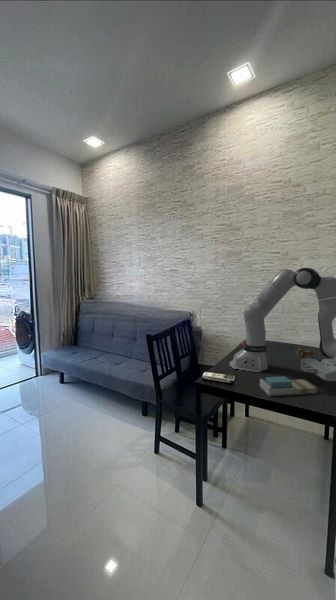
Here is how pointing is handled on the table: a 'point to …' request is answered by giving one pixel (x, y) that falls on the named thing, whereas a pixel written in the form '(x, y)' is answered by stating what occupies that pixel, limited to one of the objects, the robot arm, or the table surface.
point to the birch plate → (303, 387)
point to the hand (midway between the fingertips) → (302, 369)
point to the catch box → (276, 391)
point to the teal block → (278, 382)
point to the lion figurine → (304, 354)
